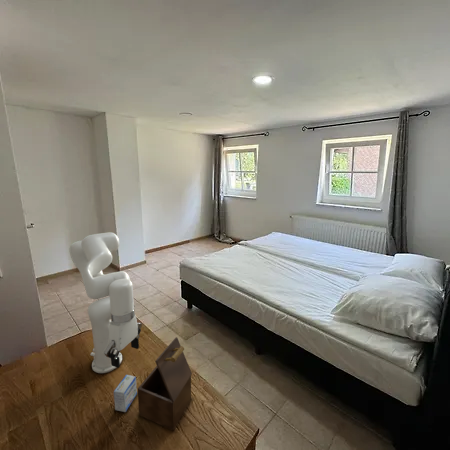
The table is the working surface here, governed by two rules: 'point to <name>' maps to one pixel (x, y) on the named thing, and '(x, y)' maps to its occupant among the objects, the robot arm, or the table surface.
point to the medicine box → (125, 393)
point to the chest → (162, 401)
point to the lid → (173, 368)
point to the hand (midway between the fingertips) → (125, 356)
